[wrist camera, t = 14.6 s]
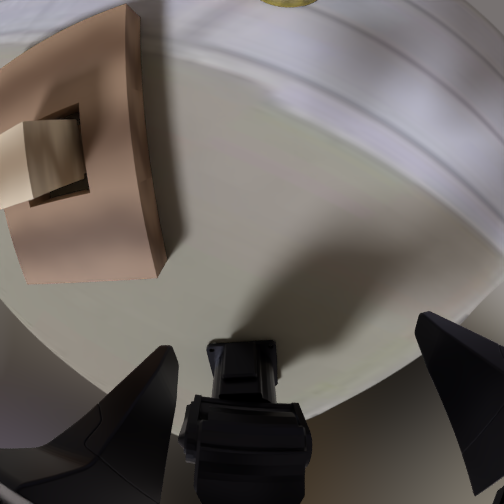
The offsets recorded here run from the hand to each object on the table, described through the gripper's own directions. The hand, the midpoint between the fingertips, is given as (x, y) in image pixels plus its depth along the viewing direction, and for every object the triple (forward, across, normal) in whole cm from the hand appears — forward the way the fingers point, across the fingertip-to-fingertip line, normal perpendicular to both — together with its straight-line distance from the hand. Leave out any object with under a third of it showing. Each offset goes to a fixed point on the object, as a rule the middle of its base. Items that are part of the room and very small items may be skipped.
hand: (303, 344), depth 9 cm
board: (+13, +15, -8) cm, 22 cm away
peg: (+13, +15, -8) cm, 22 cm away
